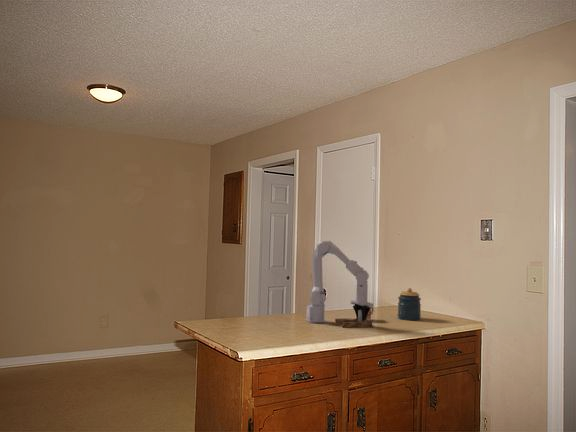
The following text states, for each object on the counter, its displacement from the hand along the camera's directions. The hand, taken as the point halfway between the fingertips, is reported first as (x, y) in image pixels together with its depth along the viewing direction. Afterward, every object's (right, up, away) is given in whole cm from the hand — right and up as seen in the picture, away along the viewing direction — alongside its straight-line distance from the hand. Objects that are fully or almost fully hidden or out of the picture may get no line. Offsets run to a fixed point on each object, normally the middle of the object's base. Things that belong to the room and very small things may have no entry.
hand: (361, 319), depth 255 cm
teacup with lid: (+5, -4, +19) cm, 20 cm away
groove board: (-4, -3, +1) cm, 5 cm away
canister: (+32, -5, +26) cm, 42 cm away
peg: (0, -2, 0) cm, 2 cm away
